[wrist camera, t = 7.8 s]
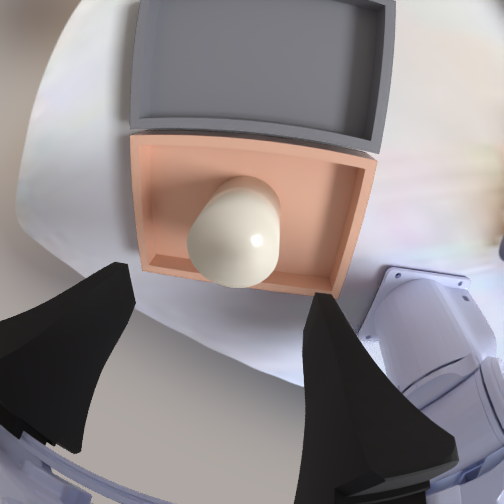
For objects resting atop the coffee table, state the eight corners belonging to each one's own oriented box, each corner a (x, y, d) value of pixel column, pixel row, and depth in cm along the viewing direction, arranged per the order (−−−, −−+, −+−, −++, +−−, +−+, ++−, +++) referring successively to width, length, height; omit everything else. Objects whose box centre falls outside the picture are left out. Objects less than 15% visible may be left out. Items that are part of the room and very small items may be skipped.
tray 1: (381, 11, 10) (395, 1, 8) (366, 146, 15) (378, 154, 13) (160, -4, 11) (143, -15, 8) (148, 124, 16) (129, 128, 14)
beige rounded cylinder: (285, 181, 16) (286, 215, 12) (275, 244, 18) (270, 293, 14) (213, 171, 16) (186, 202, 12) (209, 234, 18) (187, 280, 14)
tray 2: (365, 152, 15) (377, 161, 13) (333, 277, 20) (337, 298, 18) (148, 129, 16) (129, 135, 14) (155, 252, 21) (142, 270, 19)
